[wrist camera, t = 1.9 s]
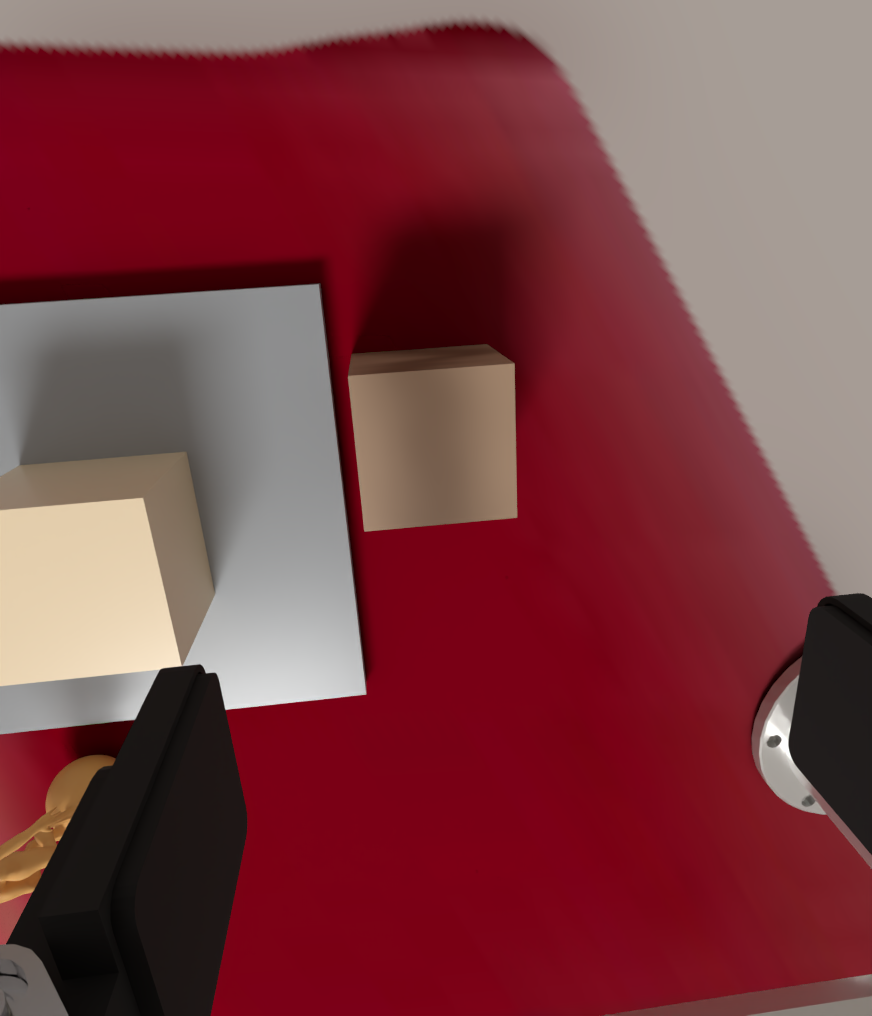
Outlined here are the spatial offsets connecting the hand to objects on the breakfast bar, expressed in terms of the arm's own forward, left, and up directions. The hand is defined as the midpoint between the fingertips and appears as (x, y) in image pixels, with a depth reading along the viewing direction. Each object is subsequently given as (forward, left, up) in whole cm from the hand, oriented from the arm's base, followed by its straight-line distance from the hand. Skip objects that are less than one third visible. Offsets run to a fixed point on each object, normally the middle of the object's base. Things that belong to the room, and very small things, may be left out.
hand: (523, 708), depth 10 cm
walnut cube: (0, 0, -22) cm, 21 cm away
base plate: (+14, +4, -21) cm, 26 cm away
